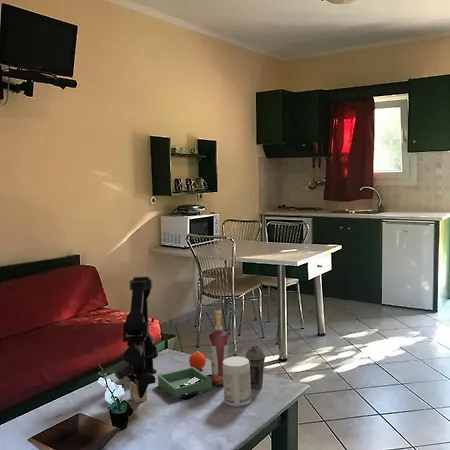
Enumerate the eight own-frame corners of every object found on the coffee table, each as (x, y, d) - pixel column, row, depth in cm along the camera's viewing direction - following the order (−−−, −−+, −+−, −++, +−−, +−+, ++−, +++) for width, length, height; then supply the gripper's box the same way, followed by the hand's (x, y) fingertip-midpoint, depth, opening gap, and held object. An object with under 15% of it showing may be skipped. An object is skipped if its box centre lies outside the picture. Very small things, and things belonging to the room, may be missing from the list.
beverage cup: (266, 383, 195) (264, 332, 193) (265, 391, 188) (264, 338, 185) (246, 383, 195) (245, 332, 193) (245, 391, 188) (244, 338, 186)
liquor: (231, 386, 193) (228, 313, 190) (211, 387, 192) (209, 314, 189) (228, 378, 200) (226, 308, 198) (209, 380, 199) (207, 309, 197)
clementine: (191, 364, 216) (191, 348, 215) (208, 365, 215) (207, 348, 214) (187, 372, 208) (187, 355, 208) (204, 372, 207) (204, 355, 207)
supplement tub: (250, 395, 185) (249, 355, 184) (252, 407, 176) (251, 365, 174) (223, 396, 185) (221, 356, 183) (224, 408, 175) (222, 366, 174)
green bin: (158, 385, 196) (158, 375, 195) (193, 376, 203) (193, 366, 203) (175, 400, 183) (175, 389, 182) (212, 389, 191) (211, 379, 190)
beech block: (130, 398, 186) (129, 382, 185) (142, 395, 188) (141, 379, 187) (135, 402, 182) (134, 386, 181) (147, 399, 184) (146, 383, 183)
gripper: (106, 350, 187) (108, 392, 189) (123, 366, 171) (126, 411, 173) (135, 344, 193) (137, 384, 194) (154, 359, 177) (157, 403, 178)
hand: (138, 395), depth 185 cm, fingers closed on beech block, 4 cm apart
